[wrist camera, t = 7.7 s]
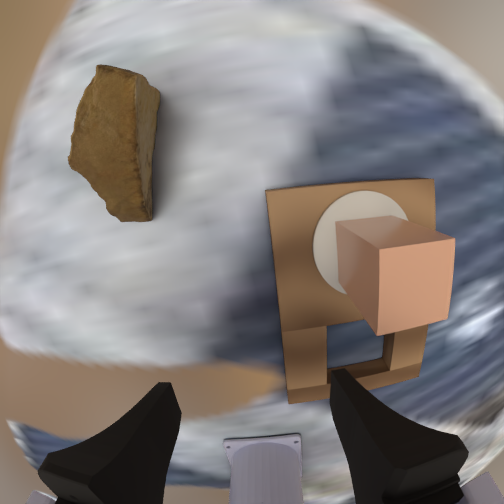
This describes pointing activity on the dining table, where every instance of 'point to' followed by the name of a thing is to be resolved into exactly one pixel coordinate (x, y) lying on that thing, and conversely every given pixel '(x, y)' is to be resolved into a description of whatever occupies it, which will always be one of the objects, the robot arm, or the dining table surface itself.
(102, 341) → the dining table surface
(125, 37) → the dining table surface
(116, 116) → the rock
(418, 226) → the terracotta block
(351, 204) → the cream disc
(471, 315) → the dining table surface
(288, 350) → the walnut board
